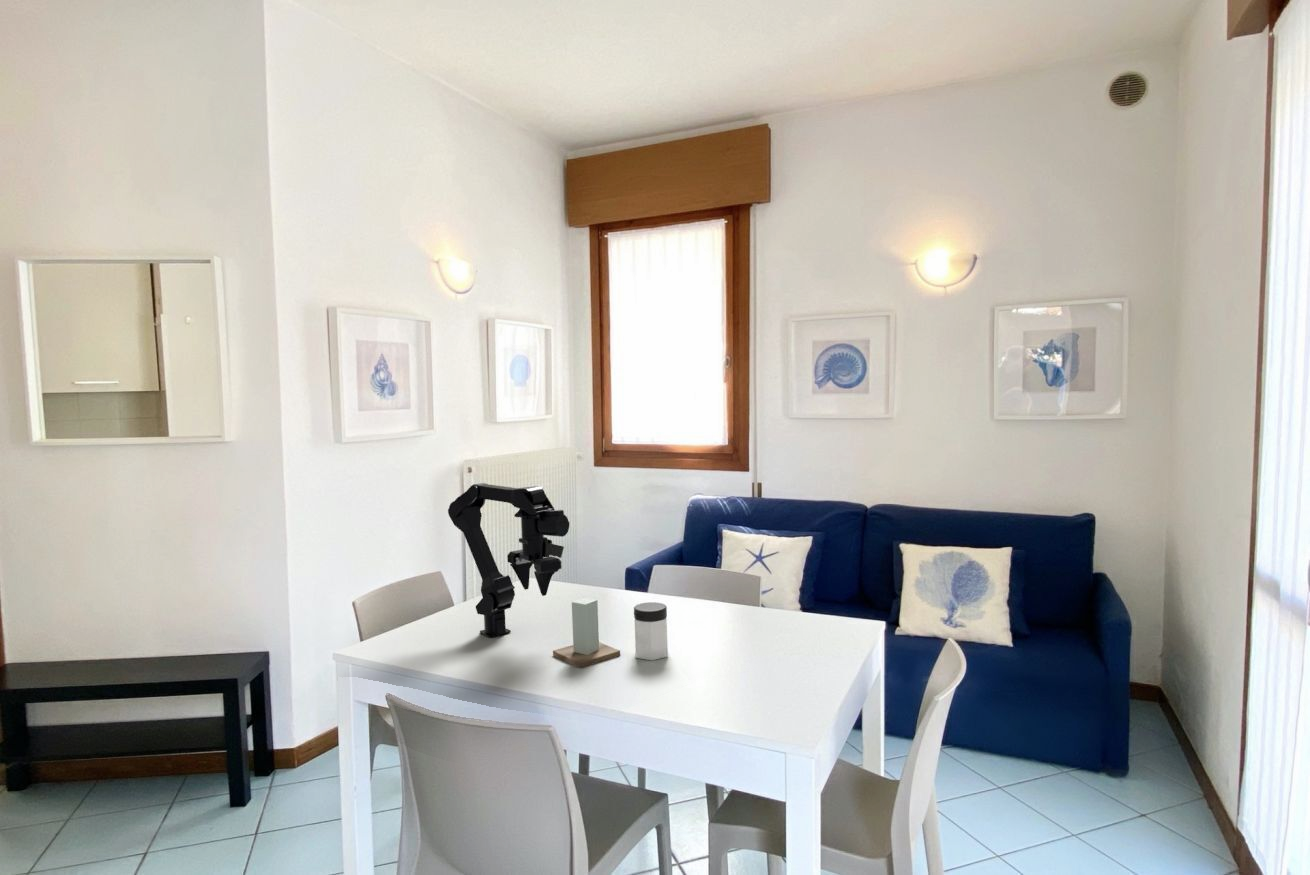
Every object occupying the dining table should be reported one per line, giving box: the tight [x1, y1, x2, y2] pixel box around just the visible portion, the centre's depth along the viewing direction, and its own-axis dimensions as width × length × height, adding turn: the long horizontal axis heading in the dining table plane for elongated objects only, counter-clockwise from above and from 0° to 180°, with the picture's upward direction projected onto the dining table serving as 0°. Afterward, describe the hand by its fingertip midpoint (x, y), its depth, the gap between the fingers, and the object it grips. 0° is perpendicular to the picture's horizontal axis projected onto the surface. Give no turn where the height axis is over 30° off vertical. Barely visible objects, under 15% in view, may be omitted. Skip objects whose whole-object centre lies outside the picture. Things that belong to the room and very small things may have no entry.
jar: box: [633, 601, 669, 661], centre depth 174 cm, size 9×8×12 cm
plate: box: [552, 641, 621, 669], centre depth 175 cm, size 12×12×1 cm
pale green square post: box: [571, 597, 600, 655], centre depth 174 cm, size 4×4×12 cm
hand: (535, 592), depth 187 cm, fingers open, 9 cm apart
